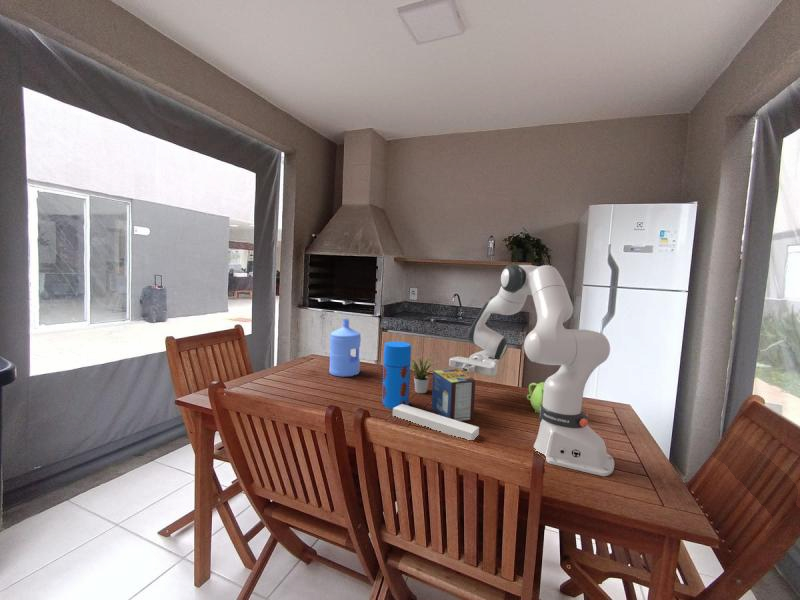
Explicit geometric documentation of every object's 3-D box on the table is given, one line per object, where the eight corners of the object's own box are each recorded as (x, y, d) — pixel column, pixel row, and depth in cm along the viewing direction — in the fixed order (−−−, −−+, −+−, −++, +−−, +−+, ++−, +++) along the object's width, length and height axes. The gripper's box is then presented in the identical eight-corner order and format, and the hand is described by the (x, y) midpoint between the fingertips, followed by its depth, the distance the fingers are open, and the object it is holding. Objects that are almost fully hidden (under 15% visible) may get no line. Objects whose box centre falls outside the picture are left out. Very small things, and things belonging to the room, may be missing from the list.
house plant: (438, 386, 174) (439, 353, 172) (440, 397, 160) (442, 360, 158) (408, 385, 174) (409, 351, 173) (408, 395, 160) (409, 359, 159)
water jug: (327, 377, 182) (328, 321, 179) (331, 368, 197) (332, 317, 195) (359, 377, 183) (360, 322, 181) (360, 368, 199) (361, 317, 196)
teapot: (576, 421, 140) (579, 389, 139) (539, 420, 139) (542, 388, 138) (556, 405, 156) (559, 376, 155) (523, 404, 155) (526, 375, 154)
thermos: (377, 401, 151) (380, 342, 149) (400, 398, 156) (403, 340, 154) (389, 411, 142) (391, 348, 140) (413, 407, 147) (416, 346, 144)
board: (478, 435, 124) (479, 427, 124) (471, 442, 119) (471, 433, 119) (401, 411, 142) (402, 403, 142) (392, 415, 137) (392, 408, 137)
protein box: (453, 405, 151) (455, 368, 150) (473, 420, 137) (476, 379, 135) (430, 407, 147) (432, 370, 146) (449, 423, 133) (451, 381, 132)
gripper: (457, 351, 166) (442, 357, 155) (501, 360, 154) (488, 367, 143) (456, 365, 167) (442, 371, 156) (500, 374, 155) (487, 382, 144)
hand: (464, 369), depth 149 cm, fingers closed
